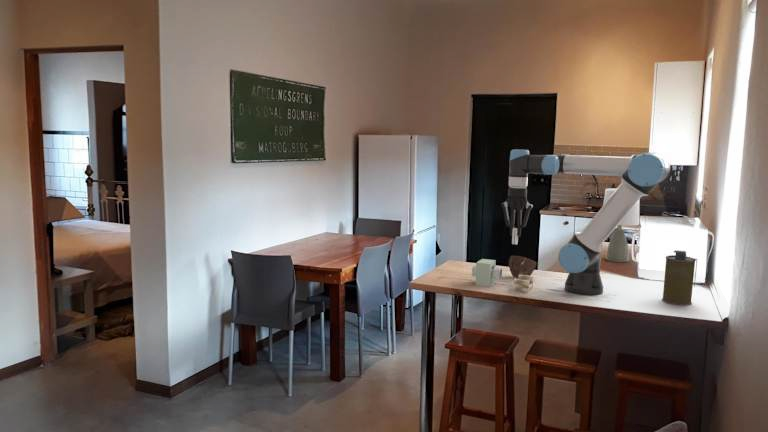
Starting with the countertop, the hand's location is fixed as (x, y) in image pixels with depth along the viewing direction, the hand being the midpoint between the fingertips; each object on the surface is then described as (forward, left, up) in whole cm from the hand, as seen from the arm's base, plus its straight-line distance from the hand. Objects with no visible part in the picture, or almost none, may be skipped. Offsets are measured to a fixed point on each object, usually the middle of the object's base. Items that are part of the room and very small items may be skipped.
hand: (514, 243), depth 247 cm
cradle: (-5, 0, -18) cm, 19 cm away
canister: (-63, -9, -19) cm, 66 cm away
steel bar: (+11, 0, -15) cm, 19 cm away
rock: (0, -19, -19) cm, 27 cm away
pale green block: (+12, 0, -18) cm, 22 cm away
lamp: (-37, -85, -19) cm, 94 cm away
